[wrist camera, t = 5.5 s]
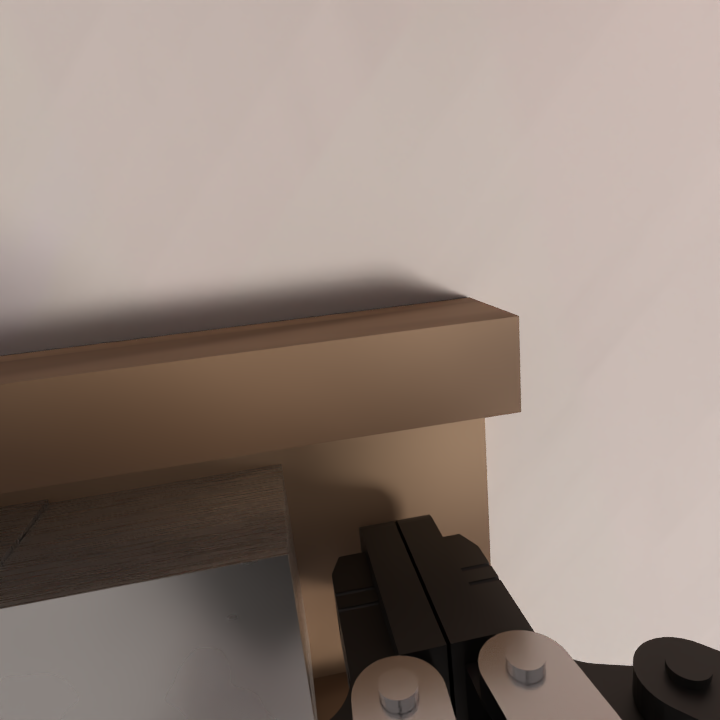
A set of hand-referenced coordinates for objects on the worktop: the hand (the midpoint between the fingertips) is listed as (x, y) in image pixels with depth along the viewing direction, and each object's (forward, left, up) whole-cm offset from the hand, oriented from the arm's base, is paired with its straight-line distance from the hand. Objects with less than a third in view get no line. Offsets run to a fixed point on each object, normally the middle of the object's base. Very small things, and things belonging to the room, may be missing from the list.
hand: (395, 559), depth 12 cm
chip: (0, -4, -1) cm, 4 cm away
